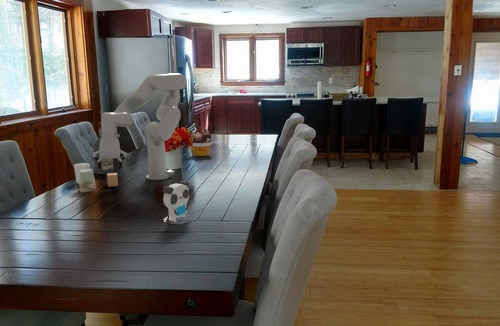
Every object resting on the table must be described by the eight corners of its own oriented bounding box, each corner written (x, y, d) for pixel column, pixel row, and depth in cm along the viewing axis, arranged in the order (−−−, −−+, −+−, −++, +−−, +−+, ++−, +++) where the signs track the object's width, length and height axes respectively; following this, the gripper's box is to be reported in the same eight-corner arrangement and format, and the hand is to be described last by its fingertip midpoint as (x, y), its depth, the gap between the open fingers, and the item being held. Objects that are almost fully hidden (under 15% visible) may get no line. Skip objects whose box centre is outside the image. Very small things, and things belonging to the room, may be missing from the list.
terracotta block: (117, 183, 225) (117, 172, 224) (117, 186, 220) (117, 174, 219) (108, 184, 223) (107, 173, 222) (107, 186, 219) (107, 175, 217)
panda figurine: (177, 227, 160) (176, 189, 157) (156, 222, 166) (154, 185, 163) (197, 218, 170) (197, 182, 167) (176, 213, 176) (175, 179, 173)
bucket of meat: (210, 158, 296) (210, 130, 292) (187, 158, 296) (186, 129, 292) (212, 153, 316) (212, 126, 312) (190, 152, 315) (189, 126, 311)
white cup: (85, 184, 222) (84, 166, 220) (72, 183, 224) (71, 165, 222) (94, 181, 230) (92, 163, 228) (81, 180, 231) (79, 162, 229)
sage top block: (93, 178, 215) (93, 169, 214) (93, 181, 210) (92, 171, 209) (81, 179, 213) (80, 169, 212) (80, 182, 208) (79, 172, 207)
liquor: (92, 173, 248) (89, 122, 242) (103, 170, 256) (100, 121, 250) (105, 174, 244) (102, 123, 238) (115, 171, 253) (112, 121, 246)
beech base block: (95, 187, 217) (94, 178, 216) (94, 191, 210) (94, 181, 209) (80, 188, 215) (80, 179, 214) (79, 192, 208) (79, 182, 207)
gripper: (126, 135, 222) (127, 167, 225) (91, 135, 217) (92, 168, 220) (127, 137, 215) (127, 170, 218) (91, 137, 210) (92, 171, 213)
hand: (110, 169), depth 219 cm, fingers open, 9 cm apart
